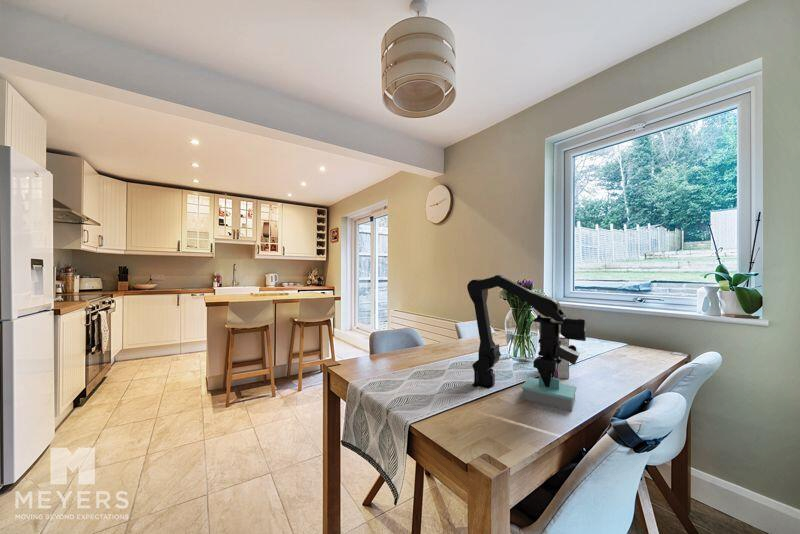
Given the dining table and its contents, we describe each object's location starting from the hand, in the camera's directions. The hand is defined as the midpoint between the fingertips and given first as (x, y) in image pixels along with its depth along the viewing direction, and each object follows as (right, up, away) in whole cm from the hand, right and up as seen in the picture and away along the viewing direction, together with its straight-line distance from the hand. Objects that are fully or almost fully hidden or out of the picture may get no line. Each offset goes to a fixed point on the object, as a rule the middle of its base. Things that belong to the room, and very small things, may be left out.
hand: (549, 384), depth 98 cm
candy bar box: (+16, -6, +26) cm, 31 cm away
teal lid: (0, -2, 0) cm, 2 cm away
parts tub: (0, -6, 0) cm, 6 cm away
